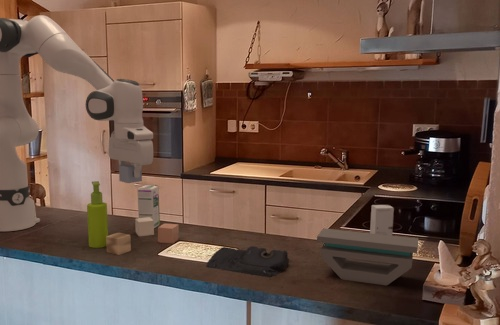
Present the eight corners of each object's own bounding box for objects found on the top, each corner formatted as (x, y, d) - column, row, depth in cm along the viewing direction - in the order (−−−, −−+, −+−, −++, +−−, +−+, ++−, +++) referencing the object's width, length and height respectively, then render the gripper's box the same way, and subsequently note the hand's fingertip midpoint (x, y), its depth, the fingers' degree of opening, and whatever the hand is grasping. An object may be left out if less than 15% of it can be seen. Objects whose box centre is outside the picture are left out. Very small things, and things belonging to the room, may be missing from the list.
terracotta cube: (158, 242, 160) (157, 227, 159) (164, 238, 164) (164, 223, 164) (172, 243, 158) (172, 228, 158) (178, 239, 163) (178, 224, 162)
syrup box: (154, 229, 174) (153, 188, 172) (138, 228, 175) (137, 187, 173) (160, 224, 179) (159, 185, 177) (144, 223, 181) (143, 184, 178)
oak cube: (106, 252, 150) (106, 236, 149) (119, 247, 154) (118, 232, 153) (118, 255, 147) (118, 239, 146) (130, 250, 151) (130, 234, 151)
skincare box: (374, 245, 158) (375, 208, 156) (369, 241, 162) (370, 204, 160) (392, 244, 158) (394, 207, 157) (387, 240, 163) (388, 204, 161)
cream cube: (135, 232, 170) (135, 218, 169) (150, 231, 172) (149, 217, 171) (139, 236, 166) (138, 222, 165) (153, 234, 168) (153, 220, 167)
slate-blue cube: (119, 181, 157) (118, 165, 156) (133, 179, 160) (132, 163, 159) (128, 183, 153) (127, 167, 152) (142, 181, 157) (141, 165, 156)
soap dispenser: (106, 240, 161) (104, 179, 158) (109, 246, 155) (107, 183, 152) (87, 242, 159) (85, 180, 156) (89, 248, 153) (86, 184, 150)
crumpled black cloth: (224, 252, 152) (224, 237, 151) (293, 261, 144) (294, 246, 143) (201, 268, 138) (201, 252, 137) (276, 280, 130) (276, 263, 129)
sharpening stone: (316, 275, 132) (317, 236, 131) (322, 265, 139) (323, 228, 138) (414, 289, 124) (417, 247, 122) (416, 278, 131) (418, 238, 129)
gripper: (102, 130, 159) (104, 173, 161) (138, 135, 145) (140, 181, 147) (120, 129, 164) (121, 170, 166) (156, 133, 150) (157, 178, 152)
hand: (130, 175), depth 156 cm, fingers closed on slate-blue cube, 5 cm apart
